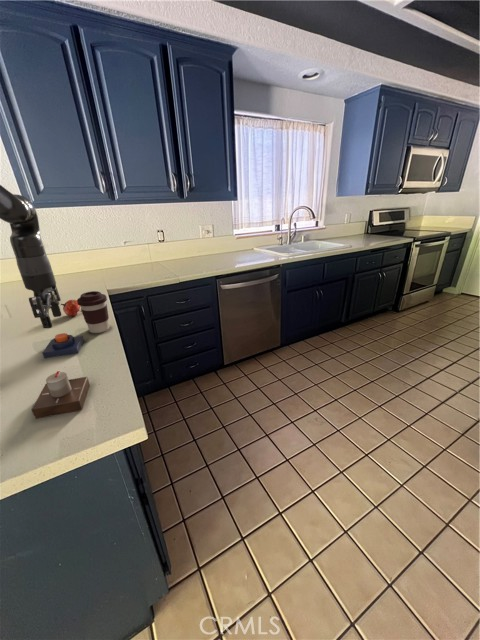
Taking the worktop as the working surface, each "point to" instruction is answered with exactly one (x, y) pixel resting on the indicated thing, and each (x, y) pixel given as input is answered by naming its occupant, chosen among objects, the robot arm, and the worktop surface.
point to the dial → (58, 384)
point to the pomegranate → (71, 308)
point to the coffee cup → (94, 311)
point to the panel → (62, 399)
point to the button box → (63, 347)
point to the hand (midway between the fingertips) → (53, 321)
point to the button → (61, 337)
